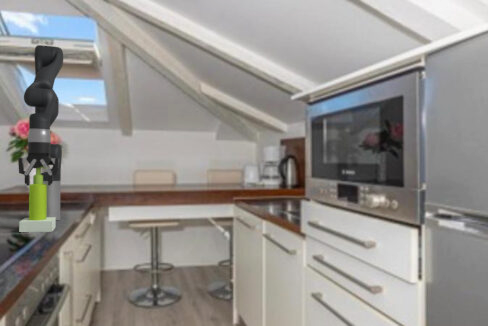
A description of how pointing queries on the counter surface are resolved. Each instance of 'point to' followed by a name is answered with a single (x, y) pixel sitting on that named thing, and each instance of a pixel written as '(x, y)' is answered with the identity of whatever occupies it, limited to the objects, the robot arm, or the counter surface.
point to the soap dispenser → (37, 197)
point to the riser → (37, 225)
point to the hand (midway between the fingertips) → (38, 185)
